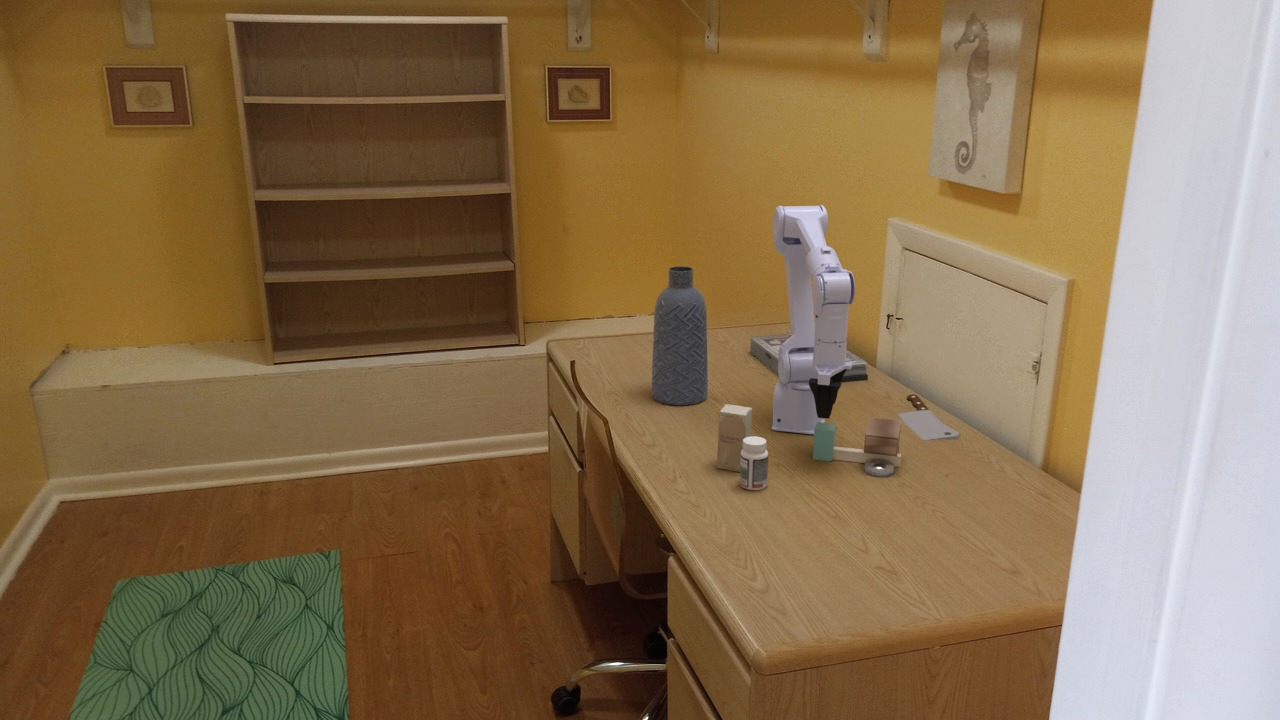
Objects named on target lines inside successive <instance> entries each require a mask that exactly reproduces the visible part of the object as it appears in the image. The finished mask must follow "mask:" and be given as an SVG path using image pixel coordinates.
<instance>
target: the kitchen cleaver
mask: <svg viewBox="0 0 1280 720" xmlns="http://www.w3.org/2000/svg"><path fill="white" fill-rule="evenodd" d="M906 401H908V402H910V401H911V402H910V403H911V404H912V406H913V407H914V408H915V409H916V408H917V409H916V410H913V411H906V412H902V413H897V414H896V415H897V416H898V417H899V418H900V420H901V421H902V422H903V423H904V424H905V425H906V427H908V428H909V429H910V430H911V431H912V432H913V433H914V434H916V435H917V436H918V437H919V438H920V439H921V440H922V441H940V440H941V439H946V440H958V439H959V438H960V436H961V435H960V434H961V433H960V432H959V431H956V430H955V429H953V428H951V427H949V426H948V425H947V424H945V423H943V422H942V421H941V420H940V419H939V418H937V417H936V415H934V413H933V411H931V410H930V409H929V408H928V406H927V405H926V404H925V403H924V402H923V401H922V399H921V398H920V397H919V396H918V395H916V394H908V395H907V396H906ZM958 437H959V438H958ZM957 438H958V439H957ZM936 439H937V440H936ZM938 439H940V440H938ZM941 441H942V440H941Z"/></svg>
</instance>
